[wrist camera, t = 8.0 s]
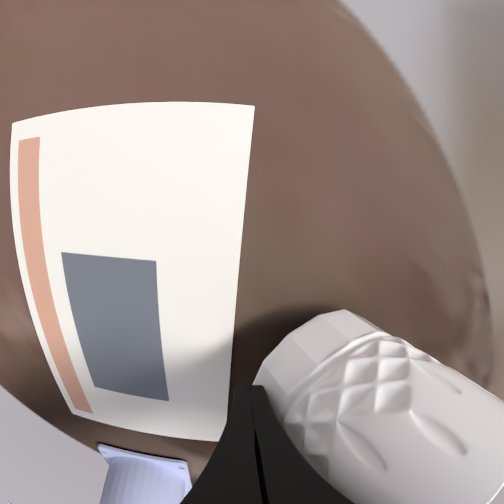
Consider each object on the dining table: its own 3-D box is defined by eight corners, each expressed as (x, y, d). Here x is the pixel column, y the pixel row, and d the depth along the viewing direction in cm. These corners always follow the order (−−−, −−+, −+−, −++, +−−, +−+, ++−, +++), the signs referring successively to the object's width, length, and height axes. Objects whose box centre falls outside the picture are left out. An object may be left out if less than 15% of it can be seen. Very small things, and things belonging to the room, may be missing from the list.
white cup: (230, 436, 12) (336, 583, 3) (247, 310, 9) (478, 539, 1) (344, 394, 15) (447, 489, 7) (387, 285, 13) (544, 383, 5)
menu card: (225, 439, 16) (225, 442, 16) (73, 411, 15) (72, 413, 15) (254, 106, 10) (254, 106, 9) (14, 123, 9) (12, 123, 8)
